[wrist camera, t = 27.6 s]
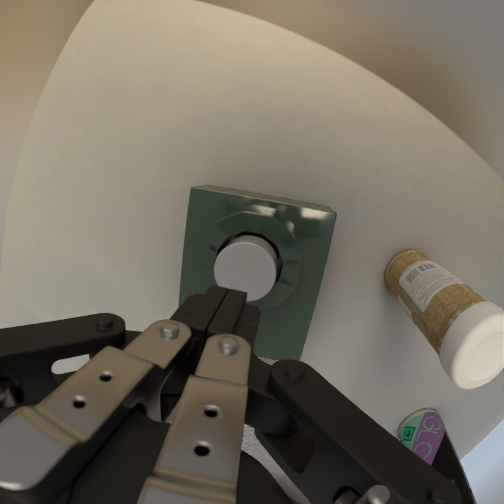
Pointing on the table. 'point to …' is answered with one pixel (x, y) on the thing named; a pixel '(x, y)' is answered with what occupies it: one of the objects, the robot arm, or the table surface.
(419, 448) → the spray can
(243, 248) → the grey short cylinder
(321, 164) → the table surface
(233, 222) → the push button box
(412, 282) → the sprinkles bottle
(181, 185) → the table surface
